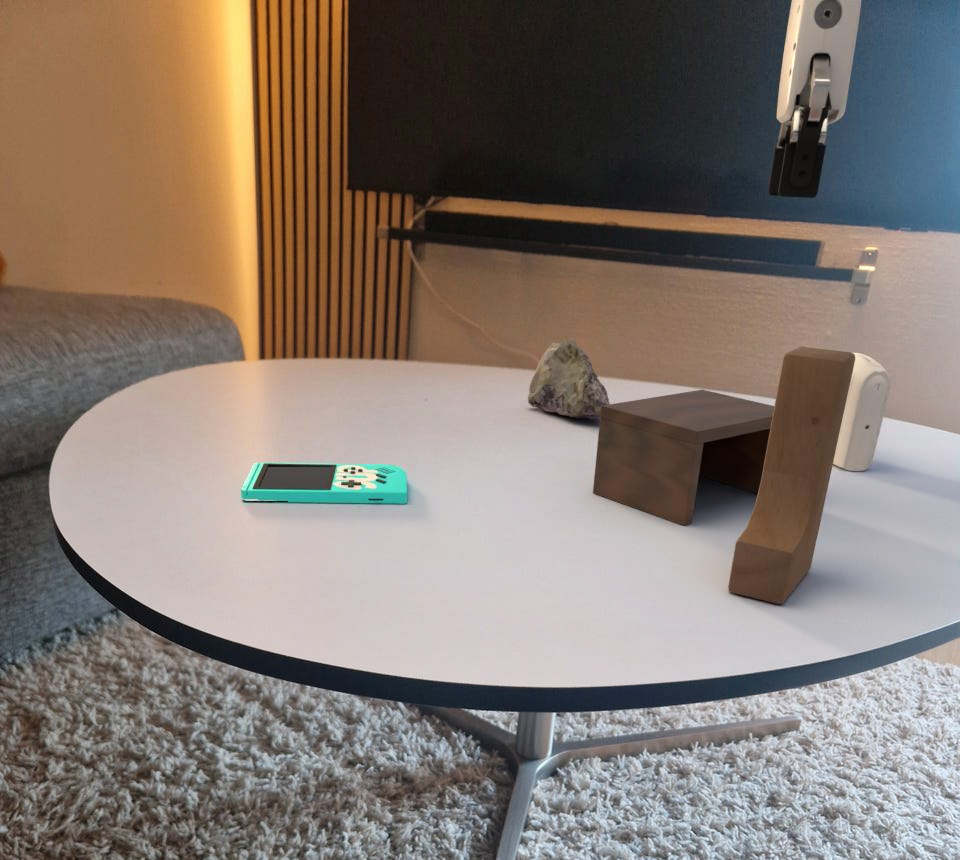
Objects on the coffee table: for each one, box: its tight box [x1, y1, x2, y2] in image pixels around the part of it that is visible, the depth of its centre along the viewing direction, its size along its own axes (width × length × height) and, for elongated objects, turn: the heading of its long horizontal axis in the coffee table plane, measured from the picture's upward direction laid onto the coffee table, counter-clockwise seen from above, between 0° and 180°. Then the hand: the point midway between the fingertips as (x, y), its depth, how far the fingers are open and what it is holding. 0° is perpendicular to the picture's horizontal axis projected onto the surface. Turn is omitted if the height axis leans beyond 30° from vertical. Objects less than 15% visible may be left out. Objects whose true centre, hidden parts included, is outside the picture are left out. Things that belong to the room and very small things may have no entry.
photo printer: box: [833, 352, 892, 472], centre depth 109 cm, size 10×4×12 cm, turn 10°
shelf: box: [592, 389, 775, 526], centre depth 94 cm, size 12×16×9 cm
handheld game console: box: [240, 461, 408, 505], centre depth 94 cm, size 10×16×1 cm, turn 95°
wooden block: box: [727, 346, 855, 605], centre depth 72 cm, size 9×4×18 cm, turn 149°
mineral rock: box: [527, 338, 611, 420], centre depth 124 cm, size 13×11×10 cm
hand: (790, 196), depth 84 cm, fingers open, 9 cm apart
